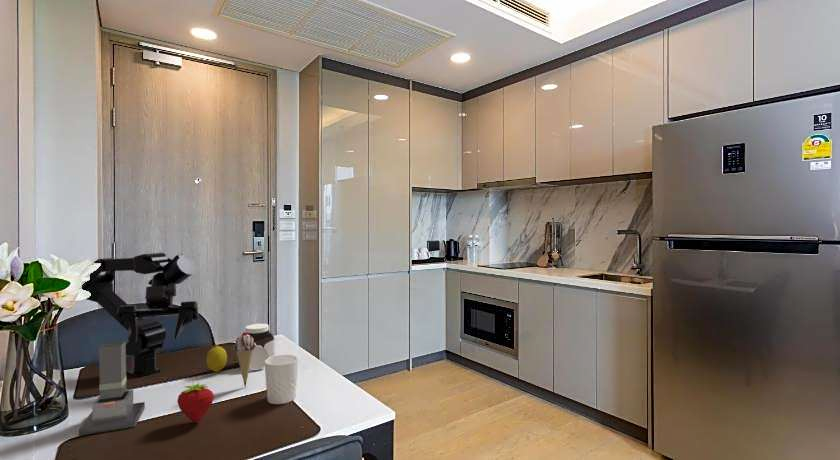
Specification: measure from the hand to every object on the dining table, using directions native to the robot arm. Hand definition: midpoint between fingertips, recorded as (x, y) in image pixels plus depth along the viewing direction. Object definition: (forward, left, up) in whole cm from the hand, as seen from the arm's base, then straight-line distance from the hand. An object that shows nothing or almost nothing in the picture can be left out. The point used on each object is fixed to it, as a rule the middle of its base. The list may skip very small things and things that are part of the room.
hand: (155, 340), depth 113 cm
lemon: (0, +17, -14) cm, 22 cm away
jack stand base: (+10, -13, -14) cm, 21 cm away
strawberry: (+26, -3, -14) cm, 29 cm away
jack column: (+10, -13, -8) cm, 18 cm away
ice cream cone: (+17, +15, -14) cm, 26 cm away
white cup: (+31, +16, -14) cm, 37 cm away
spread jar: (+4, +28, -14) cm, 31 cm away
